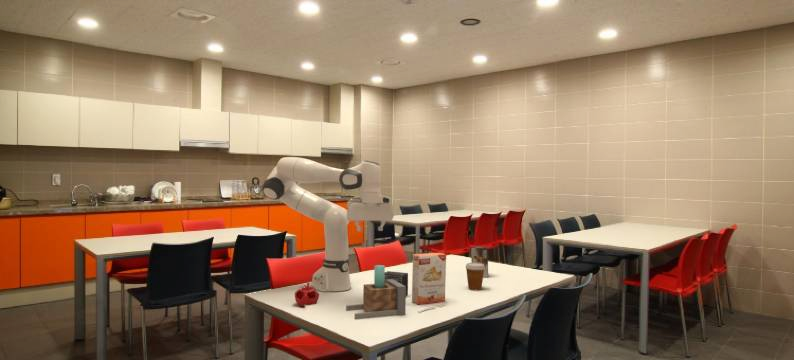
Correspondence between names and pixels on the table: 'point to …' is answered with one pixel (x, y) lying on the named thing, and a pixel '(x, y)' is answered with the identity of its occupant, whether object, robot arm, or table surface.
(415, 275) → the cracker box
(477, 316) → the table surface
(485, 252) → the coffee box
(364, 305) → the socket block
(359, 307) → the backstop
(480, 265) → the disposable coffee cup
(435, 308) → the fork
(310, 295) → the pomegranate
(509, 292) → the table surface
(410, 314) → the table surface
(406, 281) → the small box
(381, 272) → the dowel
